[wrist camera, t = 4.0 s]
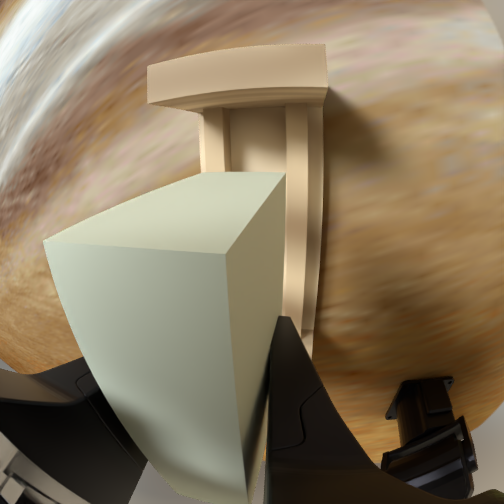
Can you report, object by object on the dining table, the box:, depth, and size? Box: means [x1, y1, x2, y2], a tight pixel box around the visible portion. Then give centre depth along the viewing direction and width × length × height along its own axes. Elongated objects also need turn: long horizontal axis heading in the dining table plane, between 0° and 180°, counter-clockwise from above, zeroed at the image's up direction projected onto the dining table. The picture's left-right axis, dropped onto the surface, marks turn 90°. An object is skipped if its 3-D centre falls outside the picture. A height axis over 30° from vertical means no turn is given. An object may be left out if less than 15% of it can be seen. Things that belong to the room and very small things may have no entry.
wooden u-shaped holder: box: [147, 44, 328, 360], centre depth 16 cm, size 20×8×7 cm, turn 2°
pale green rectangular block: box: [43, 172, 286, 504], centre depth 7 cm, size 9×3×6 cm, turn 1°
